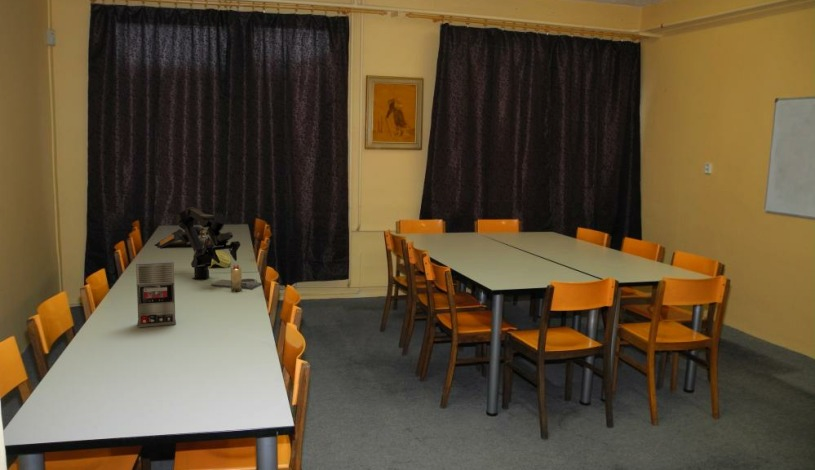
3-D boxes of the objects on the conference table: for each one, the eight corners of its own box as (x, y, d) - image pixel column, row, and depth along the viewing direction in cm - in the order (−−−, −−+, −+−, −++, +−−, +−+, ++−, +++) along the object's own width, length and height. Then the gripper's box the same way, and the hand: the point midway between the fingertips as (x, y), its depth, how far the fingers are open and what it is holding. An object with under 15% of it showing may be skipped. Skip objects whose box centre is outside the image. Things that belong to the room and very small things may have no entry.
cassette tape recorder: (138, 328, 244) (135, 265, 240) (137, 323, 250) (135, 261, 246) (175, 325, 250) (174, 263, 246) (174, 320, 255) (173, 260, 251)
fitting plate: (211, 286, 313) (210, 280, 313) (221, 281, 324) (221, 275, 324) (252, 289, 309) (252, 283, 309) (261, 284, 320) (261, 278, 319)
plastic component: (230, 264, 356) (213, 257, 353) (224, 275, 357) (207, 268, 353) (230, 255, 374) (214, 248, 371) (225, 265, 375) (209, 259, 372)
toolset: (159, 249, 401) (148, 220, 415) (160, 269, 414) (149, 240, 428) (221, 236, 420) (209, 209, 435) (220, 256, 434) (208, 229, 448)
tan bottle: (229, 291, 304) (228, 266, 302) (234, 289, 309) (233, 264, 307) (238, 292, 303) (238, 266, 301) (243, 290, 308) (243, 264, 306)
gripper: (204, 228, 303) (216, 254, 297) (238, 225, 317) (250, 249, 311) (196, 242, 310) (208, 267, 304) (230, 238, 323) (242, 262, 317)
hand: (227, 261), depth 309 cm, fingers open, 9 cm apart
